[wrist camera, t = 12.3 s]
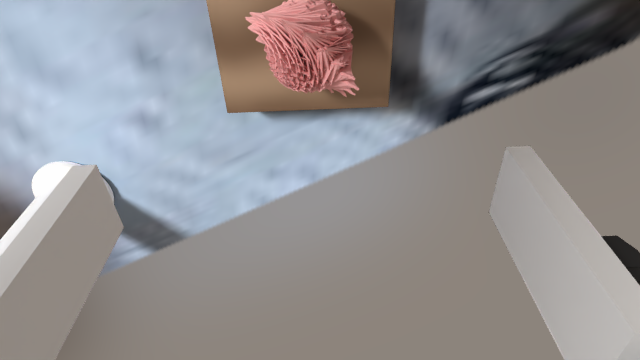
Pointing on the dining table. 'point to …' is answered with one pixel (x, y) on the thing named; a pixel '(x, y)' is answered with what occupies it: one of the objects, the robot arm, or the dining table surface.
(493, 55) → the dining table surface
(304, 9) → the flower
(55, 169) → the candle
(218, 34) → the walnut base
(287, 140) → the dining table surface
